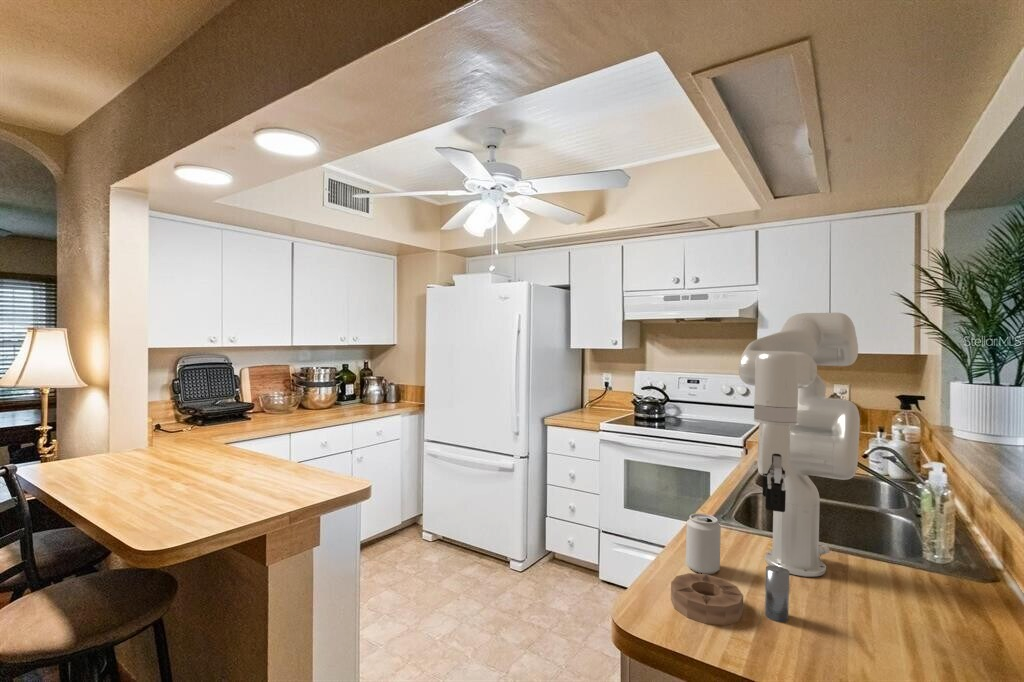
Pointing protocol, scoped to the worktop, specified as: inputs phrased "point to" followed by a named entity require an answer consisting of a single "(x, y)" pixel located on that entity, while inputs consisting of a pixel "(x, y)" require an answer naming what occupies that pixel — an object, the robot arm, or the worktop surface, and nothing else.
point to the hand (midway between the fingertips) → (773, 503)
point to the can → (703, 543)
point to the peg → (777, 593)
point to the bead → (707, 599)
